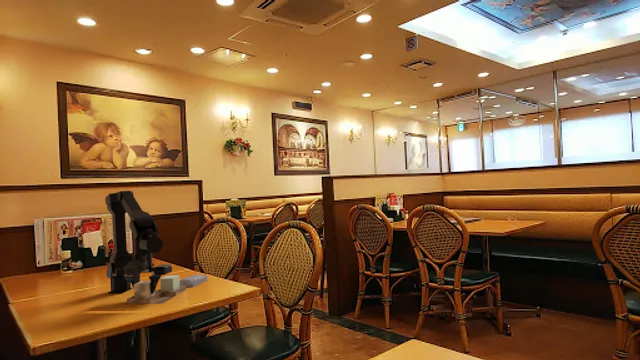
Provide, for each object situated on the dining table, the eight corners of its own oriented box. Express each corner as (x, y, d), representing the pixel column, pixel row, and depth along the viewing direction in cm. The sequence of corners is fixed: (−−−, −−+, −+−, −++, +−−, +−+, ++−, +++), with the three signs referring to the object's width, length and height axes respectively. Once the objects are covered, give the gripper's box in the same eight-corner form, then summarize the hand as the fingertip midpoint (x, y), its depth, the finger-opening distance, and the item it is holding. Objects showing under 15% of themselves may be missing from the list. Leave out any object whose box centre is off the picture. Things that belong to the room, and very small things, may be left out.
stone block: (173, 294, 157) (195, 289, 155) (171, 282, 157) (193, 277, 155) (189, 287, 168) (209, 282, 167) (186, 276, 169) (207, 271, 167)
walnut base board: (125, 306, 136) (124, 299, 136) (152, 292, 153) (152, 286, 153) (163, 305, 134) (162, 299, 134) (186, 291, 152) (186, 285, 152)
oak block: (134, 301, 138) (133, 284, 138) (142, 297, 143) (141, 280, 143) (147, 301, 137) (147, 284, 137) (155, 297, 142) (154, 280, 142)
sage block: (161, 294, 146) (160, 278, 146) (167, 291, 151) (167, 275, 151) (173, 294, 145) (173, 278, 145) (179, 290, 150) (179, 275, 150)
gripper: (104, 255, 133) (106, 301, 133) (155, 254, 131) (157, 300, 131) (124, 250, 144) (125, 292, 144) (171, 248, 142) (173, 291, 142)
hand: (144, 294), depth 140 cm, fingers open, 5 cm apart
